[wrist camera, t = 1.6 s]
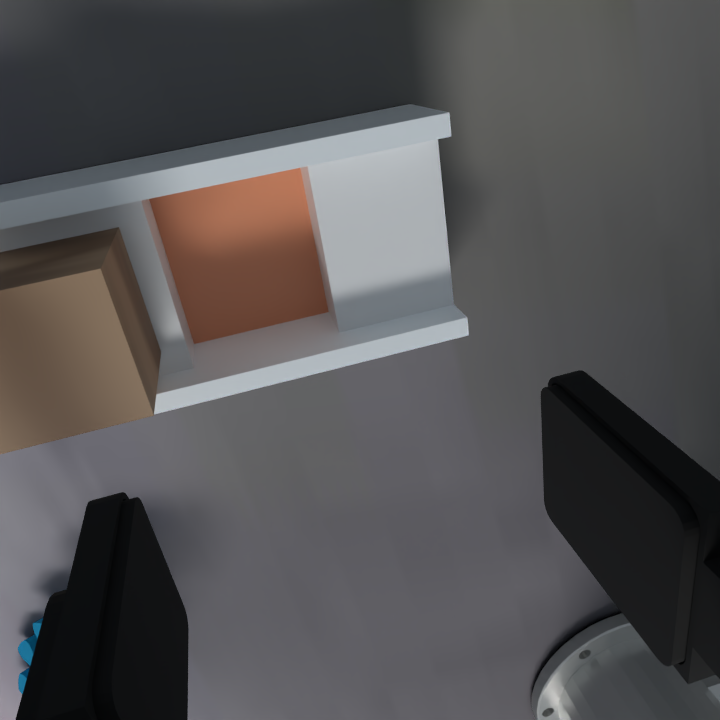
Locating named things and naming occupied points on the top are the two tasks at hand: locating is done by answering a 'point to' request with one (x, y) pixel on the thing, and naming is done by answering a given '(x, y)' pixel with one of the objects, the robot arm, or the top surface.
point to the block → (73, 340)
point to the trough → (269, 247)
